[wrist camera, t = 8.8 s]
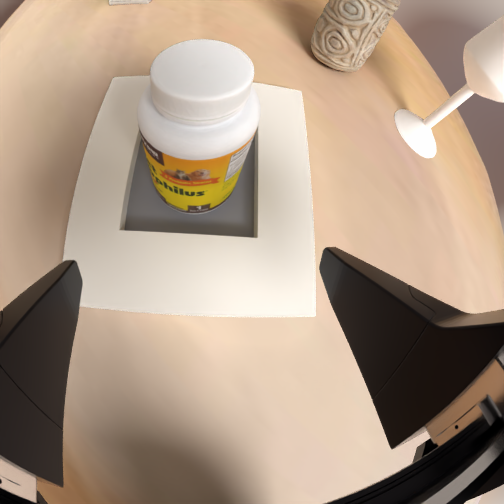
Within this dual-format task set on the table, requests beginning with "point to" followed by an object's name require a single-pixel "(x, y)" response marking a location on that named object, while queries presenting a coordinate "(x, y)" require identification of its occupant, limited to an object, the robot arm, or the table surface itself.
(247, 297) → the socket plate
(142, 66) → the table surface
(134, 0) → the skincare box
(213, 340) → the table surface
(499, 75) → the champagne flute
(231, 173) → the supplement bottle
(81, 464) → the table surface
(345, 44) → the carving
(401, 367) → the robot arm
